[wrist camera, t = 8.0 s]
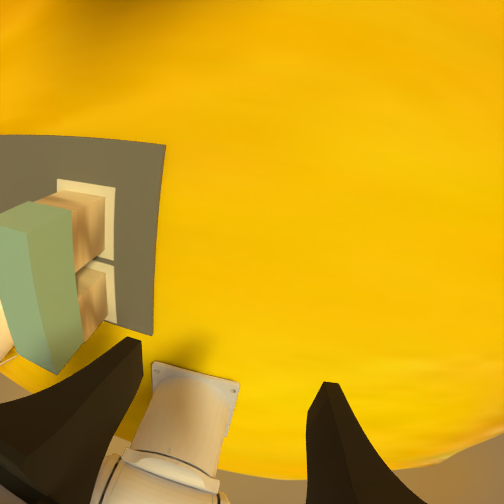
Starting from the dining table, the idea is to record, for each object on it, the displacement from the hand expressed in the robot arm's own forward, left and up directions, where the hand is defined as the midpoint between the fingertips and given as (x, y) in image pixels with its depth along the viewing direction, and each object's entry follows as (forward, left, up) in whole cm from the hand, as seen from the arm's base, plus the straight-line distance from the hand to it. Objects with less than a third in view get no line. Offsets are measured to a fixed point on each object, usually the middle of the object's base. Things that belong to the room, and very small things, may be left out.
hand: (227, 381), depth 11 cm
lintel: (-2, +13, -6) cm, 14 cm away
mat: (-1, +16, -10) cm, 19 cm away
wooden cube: (-5, +13, -10) cm, 17 cm away
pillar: (+1, +13, -10) cm, 16 cm away
